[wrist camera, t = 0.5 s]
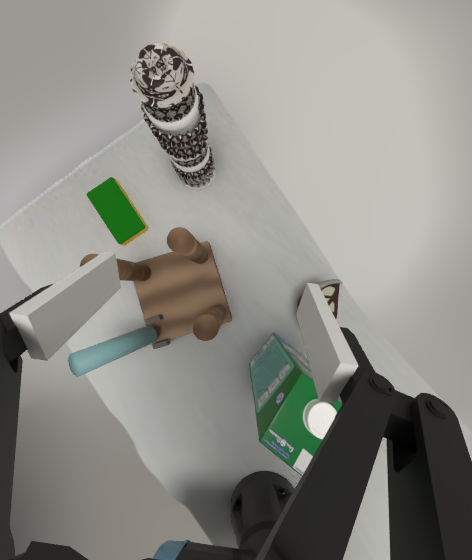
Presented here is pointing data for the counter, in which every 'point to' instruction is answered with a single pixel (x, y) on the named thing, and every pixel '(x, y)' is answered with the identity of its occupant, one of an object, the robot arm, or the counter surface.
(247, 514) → the robot arm
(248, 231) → the counter surface
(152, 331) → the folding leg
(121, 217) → the dish sponge
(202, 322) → the walnut stool
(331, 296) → the food container
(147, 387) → the counter surface
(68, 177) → the counter surface
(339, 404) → the milk carton
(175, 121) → the decorative candle
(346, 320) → the counter surface
